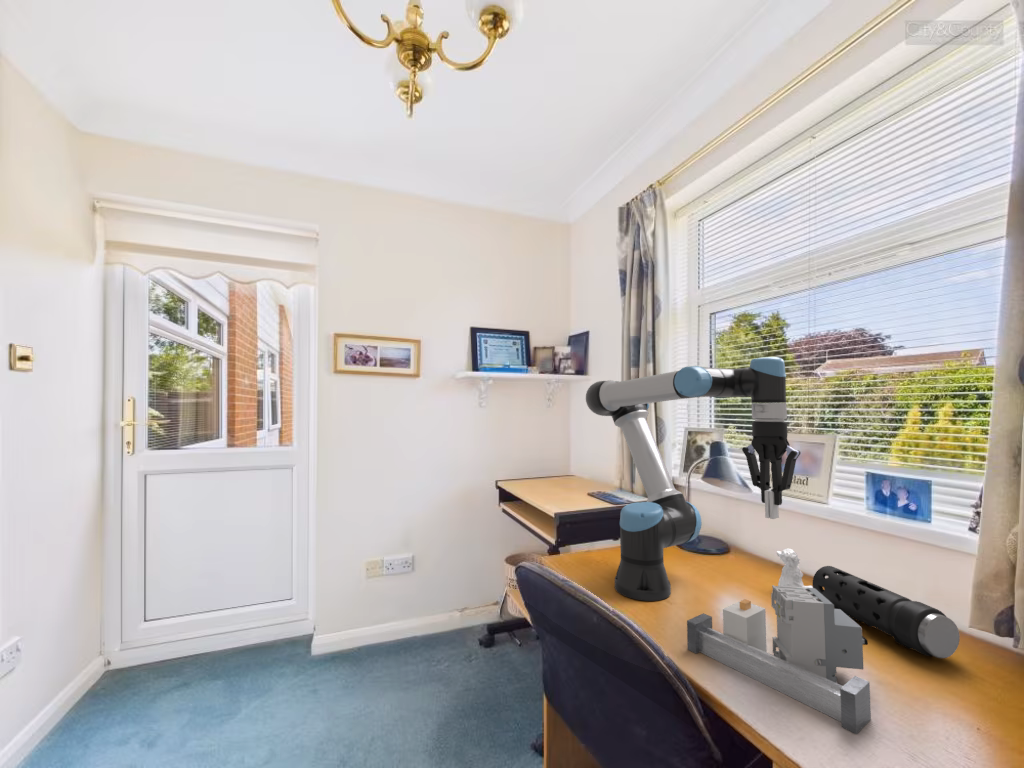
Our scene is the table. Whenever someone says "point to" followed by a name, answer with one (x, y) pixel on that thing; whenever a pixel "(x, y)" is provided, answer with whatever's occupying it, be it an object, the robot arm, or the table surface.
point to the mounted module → (746, 623)
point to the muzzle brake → (889, 612)
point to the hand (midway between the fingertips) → (772, 517)
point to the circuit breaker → (815, 632)
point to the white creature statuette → (790, 569)
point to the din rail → (784, 675)
